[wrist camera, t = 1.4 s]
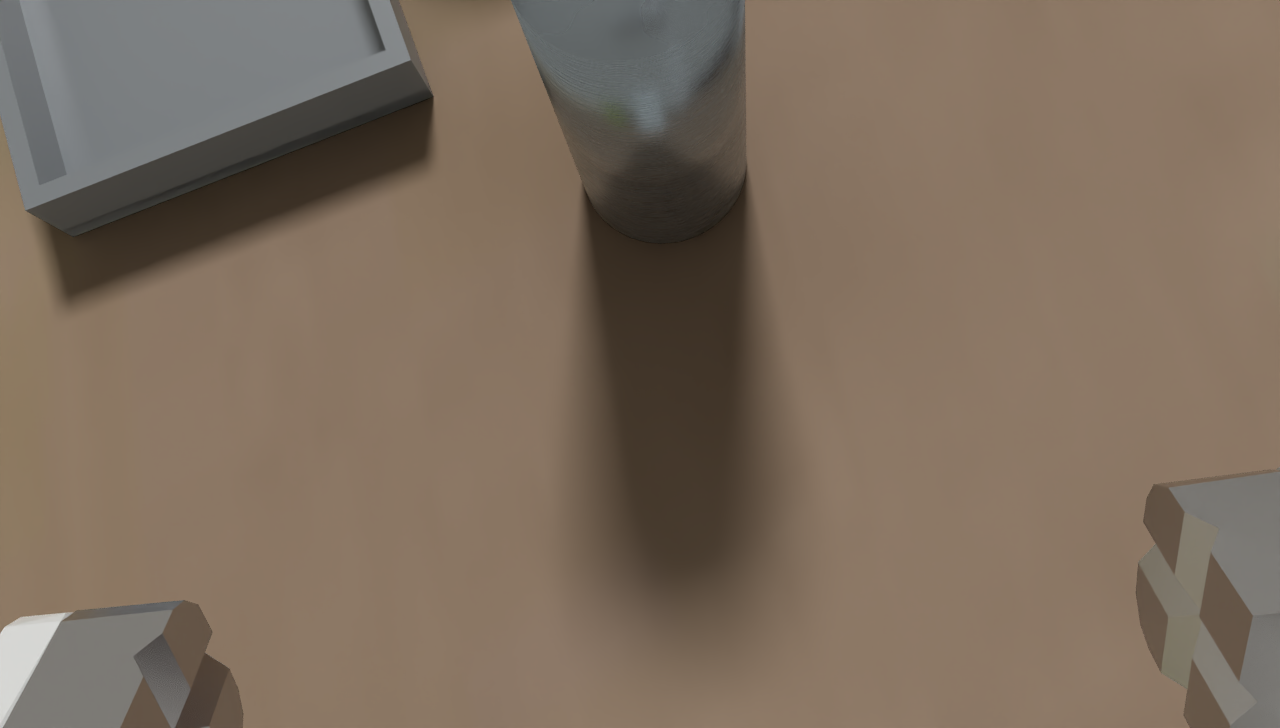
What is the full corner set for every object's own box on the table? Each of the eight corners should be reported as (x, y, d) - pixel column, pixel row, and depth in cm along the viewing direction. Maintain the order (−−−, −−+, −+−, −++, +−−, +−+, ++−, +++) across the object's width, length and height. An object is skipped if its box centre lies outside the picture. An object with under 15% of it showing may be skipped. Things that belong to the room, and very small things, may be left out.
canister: (710, 64, 36) (692, -196, 24) (771, 207, 35) (782, 5, 23) (559, 123, 36) (469, -109, 24) (615, 267, 35) (547, 96, 23)
